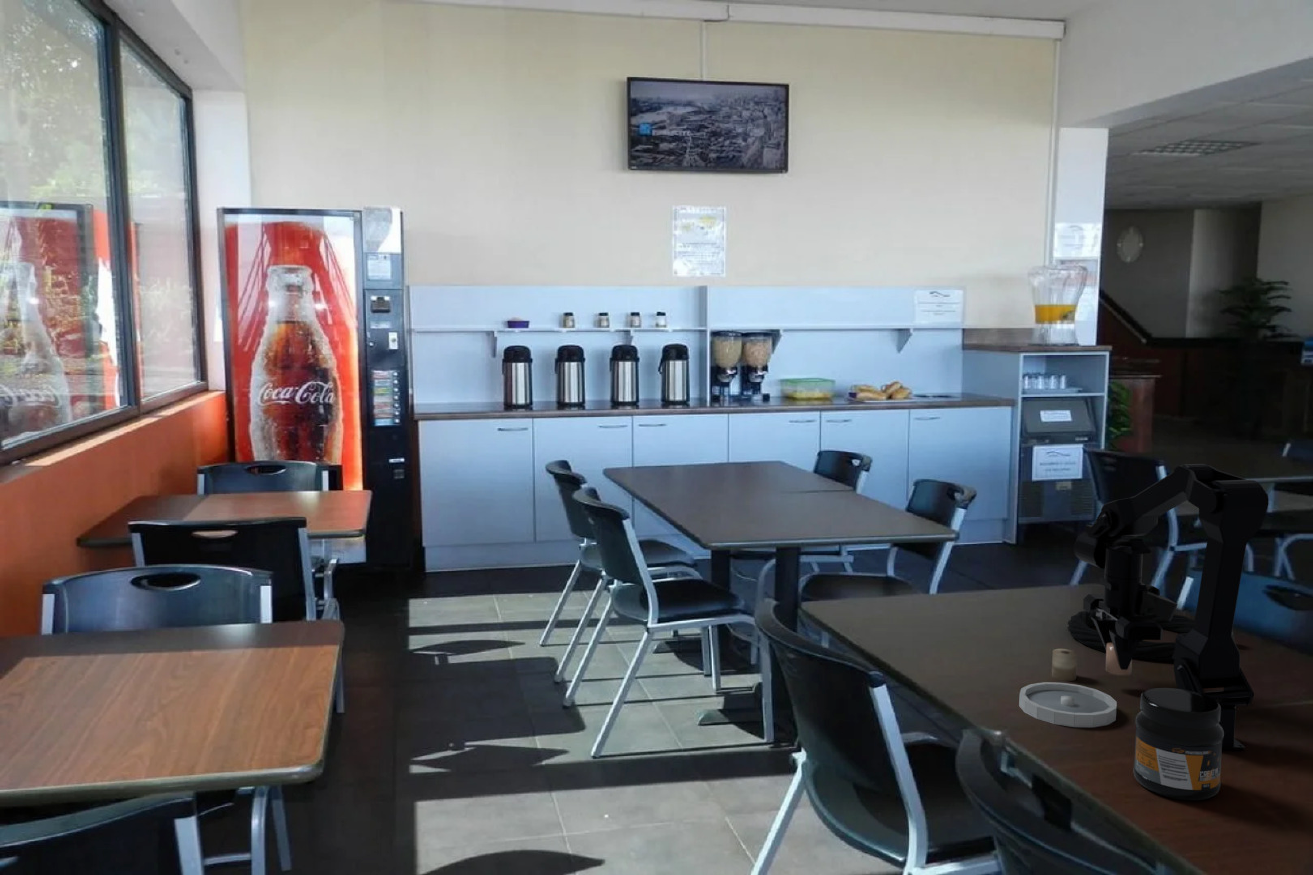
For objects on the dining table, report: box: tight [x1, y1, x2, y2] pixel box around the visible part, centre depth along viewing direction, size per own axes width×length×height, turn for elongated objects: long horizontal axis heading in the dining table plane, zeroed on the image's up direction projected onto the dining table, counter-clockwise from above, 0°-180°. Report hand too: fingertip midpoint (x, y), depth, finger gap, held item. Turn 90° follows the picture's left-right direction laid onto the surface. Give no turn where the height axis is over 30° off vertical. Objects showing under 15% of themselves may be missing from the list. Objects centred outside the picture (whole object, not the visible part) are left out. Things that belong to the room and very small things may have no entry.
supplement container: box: [1132, 687, 1224, 801], centre depth 136 cm, size 10×10×12 cm
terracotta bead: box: [1105, 642, 1133, 676], centre depth 172 cm, size 4×4×5 cm
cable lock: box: [1067, 609, 1235, 662], centre depth 200 cm, size 28×4×30 cm
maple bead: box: [1051, 648, 1078, 682], centre depth 179 cm, size 4×4×5 cm
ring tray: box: [1018, 681, 1118, 728], centre depth 163 cm, size 14×14×2 cm
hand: (1118, 665), depth 173 cm, fingers closed on terracotta bead, 4 cm apart
